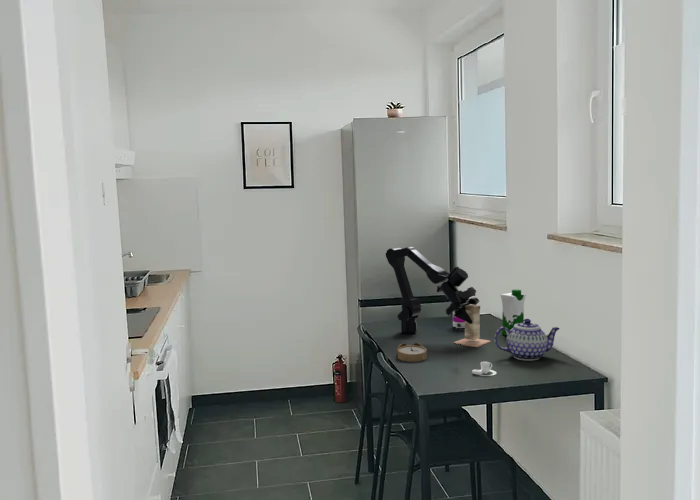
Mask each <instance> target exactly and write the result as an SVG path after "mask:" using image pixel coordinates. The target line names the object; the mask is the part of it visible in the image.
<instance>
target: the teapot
mask: <svg viewBox="0 0 700 500" xmlns="http://www.w3.org/2000/svg"><path fill="white" fill-rule="evenodd" d="M502 329H504V330H505V331H506V333H507V335H506V347H502V346H501V345H499V343H498V336H499V333H500V332H502ZM560 329H561V328H559V327H557V326H553V327H551V329H550V332H548V334H546V333H545V331H544V330H542V328H541V325H540V324H537V323H533V322H532V320H531V319H530V318H524V323H518V324H515V325H514V327H513V328H512V329H511V330H510V331H509V330H508V329H507V328H506V327H502V326H499V328H497V330H496V332H495V333H494V337H493V341H494V344H495V346H496V347H497V348H498V349H499V350H501V351H504V352H507V353H509V354H511V355H512V357H513V358H514V359H515V360H516V359H517V360H520V361H537V360H539V359H540V358H541V357H542V356H544V355H545V354H546V353H547V352H550V351H551V350H552V348H553V346H554V343H555V336H556V334H557V331H559V330H560Z"/></svg>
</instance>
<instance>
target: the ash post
mask: <svg viewBox="0 0 700 500" xmlns="http://www.w3.org/2000/svg"><path fill="white" fill-rule="evenodd" d="M465 308H466V312H467V314H468V315H469V317H470V319H471V320H472V322H473V323H472V324H470V323H468V322H466V321H465V329H464V338H465V339H469V340H476V339H481V338H480V337H481V336H480V333H481V332H480V331H481V329H480V328H481V327H480V326H481V322H480V321H481V320H480V319H481V313H480V311H481V305H478V304H477V305H472V304H469V305H466V306H465Z"/></svg>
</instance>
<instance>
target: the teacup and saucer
mask: <svg viewBox="0 0 700 500" xmlns="http://www.w3.org/2000/svg"><path fill="white" fill-rule="evenodd" d="M492 368H493V364H492V362H489V361H485V360H484V361H480V369H472V370H471V372H472V374H474V375H477V376H482V377H491V376H495V375H497V374H498V373H497V371H495V370H493V369H492ZM489 372H491V374H489Z"/></svg>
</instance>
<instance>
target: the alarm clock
mask: <svg viewBox="0 0 700 500" xmlns="http://www.w3.org/2000/svg"><path fill="white" fill-rule="evenodd" d="M397 359H398V360H400V361H403V362H414V363H415V362H423V361H425V360H426V359H427V348H426V347H424V346H423V345H422V344H421V343H420V342H417V343H415V342H414V344H406V343H400V344H399V345H398V346H397Z"/></svg>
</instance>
